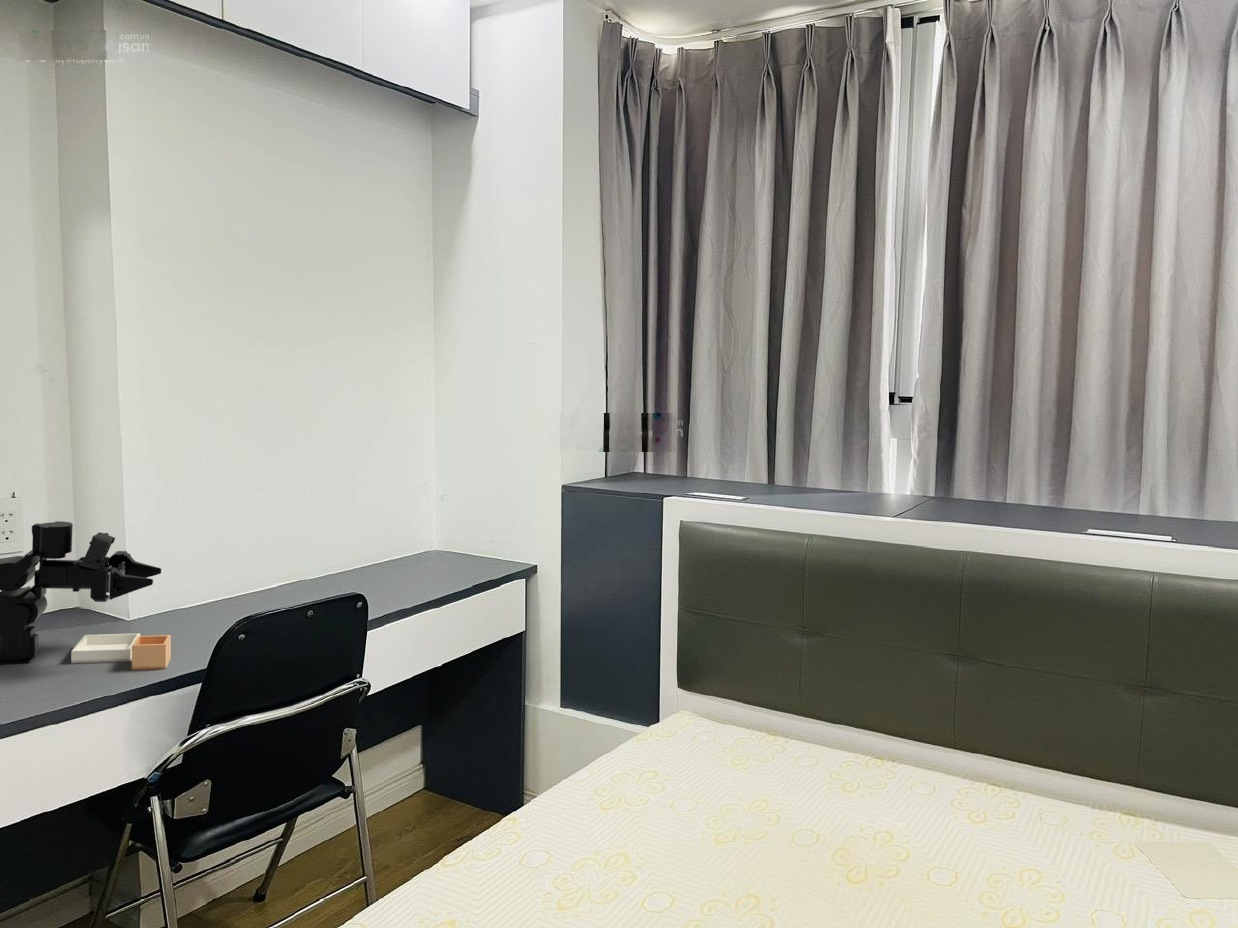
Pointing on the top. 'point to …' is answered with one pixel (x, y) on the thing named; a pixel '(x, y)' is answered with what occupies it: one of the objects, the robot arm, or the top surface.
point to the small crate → (151, 652)
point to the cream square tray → (104, 648)
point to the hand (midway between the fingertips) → (157, 576)
